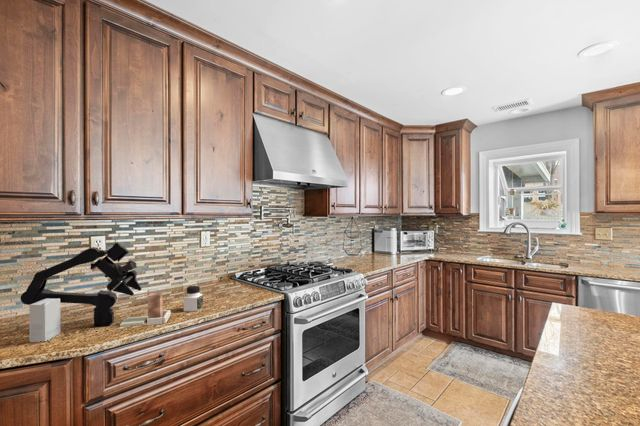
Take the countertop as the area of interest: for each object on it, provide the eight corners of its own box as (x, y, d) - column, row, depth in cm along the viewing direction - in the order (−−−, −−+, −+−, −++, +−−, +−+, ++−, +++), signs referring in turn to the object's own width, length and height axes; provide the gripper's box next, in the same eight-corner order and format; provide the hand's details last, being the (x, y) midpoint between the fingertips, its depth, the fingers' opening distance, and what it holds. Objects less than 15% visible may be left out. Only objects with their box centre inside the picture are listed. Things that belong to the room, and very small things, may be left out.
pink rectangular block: (147, 322, 138) (147, 295, 138) (150, 319, 143) (150, 293, 143) (160, 321, 139) (160, 295, 140) (162, 317, 144) (162, 292, 144)
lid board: (119, 326, 133) (119, 324, 133) (126, 320, 142) (126, 317, 142) (143, 324, 136) (143, 322, 136) (148, 317, 144) (148, 315, 144)
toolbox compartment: (147, 325, 135) (147, 319, 135) (153, 316, 146) (153, 311, 146) (165, 323, 137) (165, 317, 137) (170, 314, 148) (170, 309, 148)
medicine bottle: (197, 311, 153) (197, 287, 153) (183, 311, 153) (183, 287, 154) (203, 307, 160) (202, 284, 160) (189, 307, 161) (189, 284, 161)
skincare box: (45, 334, 125) (45, 298, 125) (61, 333, 126) (61, 297, 126) (28, 343, 117) (27, 304, 117) (45, 342, 117) (45, 303, 117)
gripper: (115, 258, 129) (143, 283, 132) (132, 253, 148) (157, 275, 150) (93, 278, 128) (123, 303, 130) (113, 270, 146) (139, 292, 148)
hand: (137, 292), depth 139 cm, fingers open, 9 cm apart
